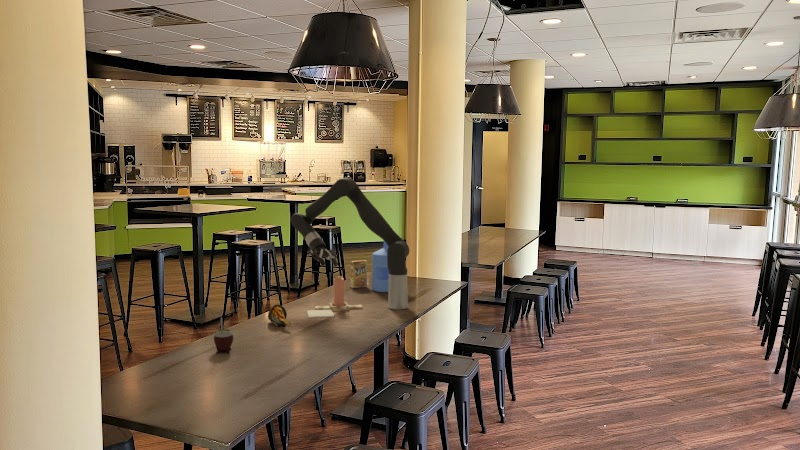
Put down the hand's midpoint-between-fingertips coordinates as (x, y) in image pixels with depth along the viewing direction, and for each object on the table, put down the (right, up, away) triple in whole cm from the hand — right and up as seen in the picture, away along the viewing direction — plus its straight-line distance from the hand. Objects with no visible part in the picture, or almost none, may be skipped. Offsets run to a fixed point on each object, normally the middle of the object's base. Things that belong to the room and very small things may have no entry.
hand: (330, 265), depth 310 cm
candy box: (+10, -16, +51) cm, 55 cm away
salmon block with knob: (+4, -21, 0) cm, 22 cm away
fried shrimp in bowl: (-19, -25, -32) cm, 45 cm away
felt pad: (-4, -23, -12) cm, 26 cm away
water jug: (+26, -17, +44) cm, 54 cm away
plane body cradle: (+4, -21, 0) cm, 22 cm away
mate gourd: (-33, -29, -70) cm, 83 cm away
